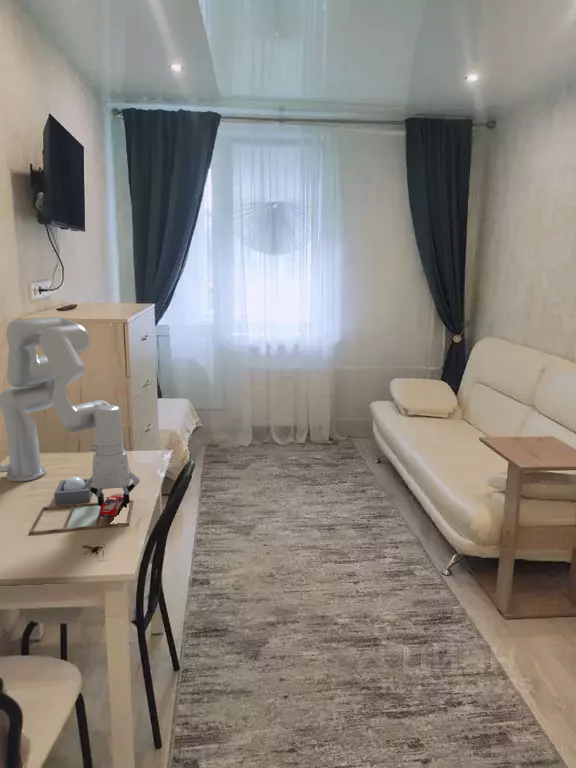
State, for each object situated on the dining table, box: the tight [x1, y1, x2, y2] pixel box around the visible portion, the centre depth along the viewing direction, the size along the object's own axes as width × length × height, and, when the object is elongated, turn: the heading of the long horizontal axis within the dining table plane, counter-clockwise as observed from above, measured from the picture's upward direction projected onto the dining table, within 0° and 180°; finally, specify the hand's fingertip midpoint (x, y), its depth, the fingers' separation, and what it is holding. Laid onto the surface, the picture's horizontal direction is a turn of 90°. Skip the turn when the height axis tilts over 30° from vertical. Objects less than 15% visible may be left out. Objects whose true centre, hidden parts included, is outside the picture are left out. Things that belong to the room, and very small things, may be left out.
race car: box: [100, 493, 124, 518], centre depth 160 cm, size 13×5×4 cm, turn 177°
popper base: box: [53, 478, 94, 506], centre depth 172 cm, size 10×10×4 cm
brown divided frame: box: [28, 499, 134, 535], centre depth 159 cm, size 26×16×1 cm, turn 101°
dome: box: [64, 476, 85, 491], centre depth 172 cm, size 6×6×6 cm
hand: (114, 506), depth 160 cm, fingers closed on race car, 6 cm apart
